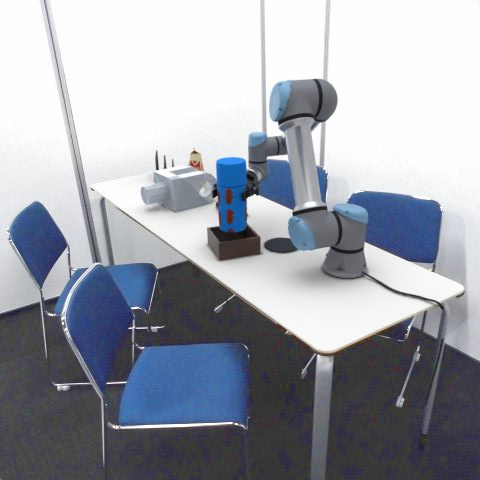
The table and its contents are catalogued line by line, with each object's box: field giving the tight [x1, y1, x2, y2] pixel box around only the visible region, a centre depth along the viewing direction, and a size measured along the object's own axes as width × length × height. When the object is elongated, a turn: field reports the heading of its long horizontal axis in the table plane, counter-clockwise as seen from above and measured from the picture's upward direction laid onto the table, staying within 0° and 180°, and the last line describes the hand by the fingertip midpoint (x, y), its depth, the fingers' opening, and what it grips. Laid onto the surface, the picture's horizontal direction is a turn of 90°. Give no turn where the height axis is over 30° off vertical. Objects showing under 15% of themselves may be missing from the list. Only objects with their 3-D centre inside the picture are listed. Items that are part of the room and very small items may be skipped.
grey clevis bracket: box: [140, 164, 217, 213], centre depth 228 cm, size 35×19×15 cm, turn 126°
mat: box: [263, 236, 299, 254], centre depth 187 cm, size 14×14×1 cm
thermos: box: [215, 156, 248, 232], centre depth 174 cm, size 11×11×25 cm
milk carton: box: [188, 147, 206, 188], centre depth 252 cm, size 9×9×20 cm
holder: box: [206, 222, 262, 261], centre depth 184 cm, size 17×17×7 cm
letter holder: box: [154, 149, 175, 171], centre depth 267 cm, size 10×20×14 cm, turn 7°
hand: (227, 195), depth 170 cm, fingers closed on thermos, 11 cm apart
